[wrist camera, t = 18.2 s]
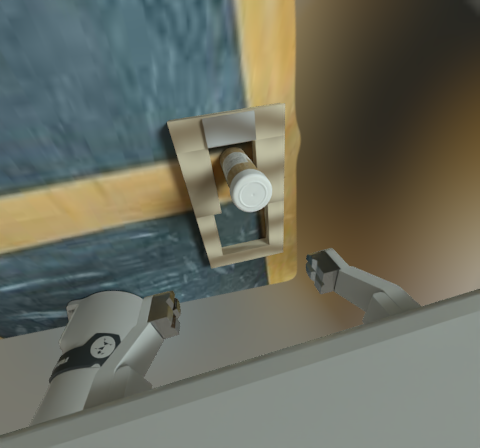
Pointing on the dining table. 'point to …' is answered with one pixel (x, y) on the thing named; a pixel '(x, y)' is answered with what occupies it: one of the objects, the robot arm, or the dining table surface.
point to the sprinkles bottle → (245, 181)
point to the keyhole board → (202, 179)
